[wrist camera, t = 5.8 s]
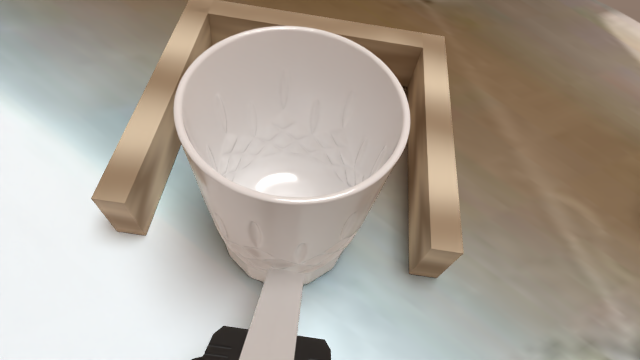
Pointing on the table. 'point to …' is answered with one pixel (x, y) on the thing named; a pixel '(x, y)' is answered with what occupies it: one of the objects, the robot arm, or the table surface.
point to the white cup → (290, 143)
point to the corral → (386, 43)
